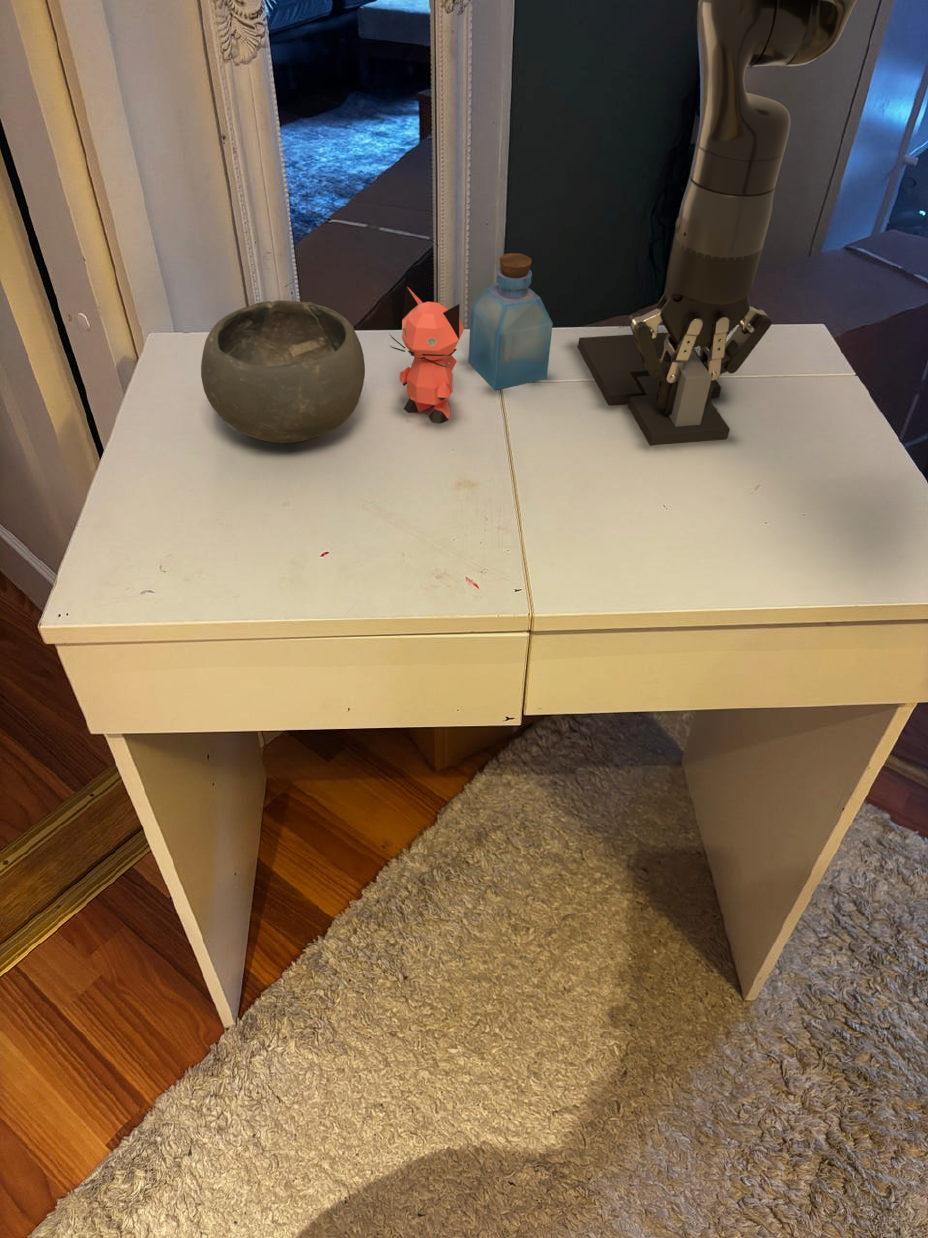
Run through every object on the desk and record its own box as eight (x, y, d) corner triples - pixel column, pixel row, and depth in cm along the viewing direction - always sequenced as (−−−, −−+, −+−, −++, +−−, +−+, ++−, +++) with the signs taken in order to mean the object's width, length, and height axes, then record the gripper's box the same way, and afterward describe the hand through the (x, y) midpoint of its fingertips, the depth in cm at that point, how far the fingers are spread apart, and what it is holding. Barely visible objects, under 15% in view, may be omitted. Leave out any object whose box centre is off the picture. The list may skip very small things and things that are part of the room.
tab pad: (689, 382, 99) (702, 325, 94) (727, 439, 91) (743, 380, 87) (617, 387, 98) (627, 330, 93) (649, 445, 90) (662, 386, 86)
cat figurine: (382, 411, 93) (378, 297, 84) (422, 382, 97) (422, 270, 89) (441, 435, 90) (443, 319, 82) (479, 404, 94) (485, 291, 86)
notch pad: (679, 340, 105) (681, 331, 104) (719, 397, 97) (721, 387, 96) (577, 347, 103) (578, 337, 103) (608, 405, 95) (610, 395, 94)
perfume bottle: (518, 351, 102) (527, 242, 94) (546, 378, 99) (558, 267, 90) (468, 362, 100) (472, 252, 92) (495, 390, 96) (502, 278, 88)
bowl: (207, 394, 94) (190, 300, 87) (353, 379, 97) (348, 287, 90) (217, 480, 84) (198, 381, 77) (380, 460, 87) (376, 364, 80)
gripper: (656, 257, 76) (623, 435, 89) (814, 249, 78) (761, 425, 91) (628, 220, 82) (601, 394, 94) (777, 214, 84) (731, 385, 96)
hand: (680, 408), depth 92 cm, fingers closed on tab pad, 2 cm apart
